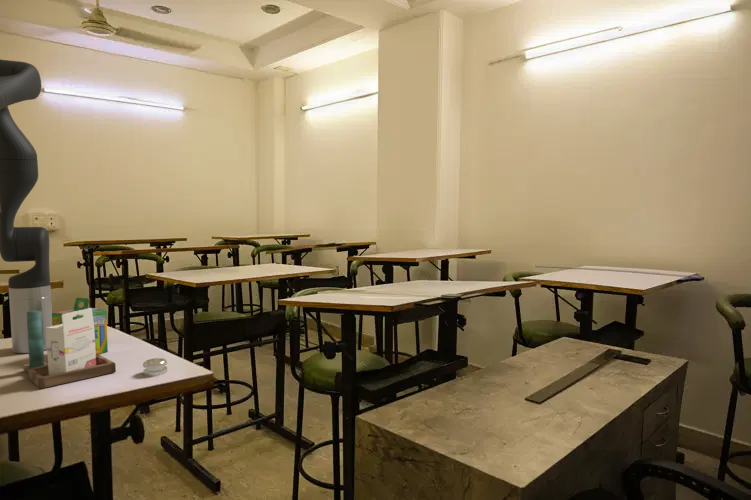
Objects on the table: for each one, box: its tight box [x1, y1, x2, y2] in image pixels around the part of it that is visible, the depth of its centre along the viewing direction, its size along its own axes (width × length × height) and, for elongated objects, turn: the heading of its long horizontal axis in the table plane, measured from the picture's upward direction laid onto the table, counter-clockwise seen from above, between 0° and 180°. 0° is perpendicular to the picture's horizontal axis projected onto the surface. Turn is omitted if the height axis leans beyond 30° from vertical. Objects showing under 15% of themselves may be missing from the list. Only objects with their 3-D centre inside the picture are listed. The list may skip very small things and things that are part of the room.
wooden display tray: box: [23, 311, 117, 389], centre depth 112 cm, size 18×15×14 cm
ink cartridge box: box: [46, 307, 96, 375], centre depth 109 cm, size 9×5×15 cm, turn 166°
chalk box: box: [52, 297, 109, 355], centre depth 126 cm, size 9×9×15 cm
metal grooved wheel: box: [142, 357, 168, 377], centre depth 111 cm, size 5×3×5 cm
